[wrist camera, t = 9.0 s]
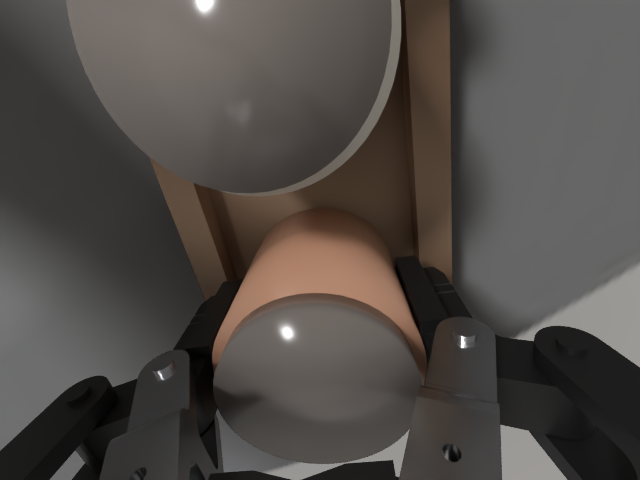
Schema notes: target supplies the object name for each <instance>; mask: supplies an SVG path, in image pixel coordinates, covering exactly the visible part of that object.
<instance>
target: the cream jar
mask: <svg viewBox="0 0 640 480" xmlns="http://www.w3.org/2000/svg"><path fill="white" fill-rule="evenodd" d="M66 3H67V10H68V16H69V23H70V27H71V30H72V34H73V38H74V42H75V46H76V49H77V52H78V54H79V57H80V60H81V62H82V65H83V68H84V70H85V72H86V74H87V77H88V79H89V81H90V83H91V85H92V87H93V89H94V91H95V93H96V94H97V96H98V97H99V99H100V101H101V102H102V104H103V106H104V107H105V109H106V110H107V112H108V113H109V115H110V116H111V117H112V118H113V120H114V121H115V122H116V124H117V125H118V126H119V128H120V129H121V130H122V131H123V132H124V133H125V134H126V135H127V136H128V137H129V139H130V140H131V141H132V142H133V143H134V144H135V145H136V146H137V147H139V148H140V149H141V150H142V151H143V152H144V153H145V154H147V155H148V156H149V157H150V158H151V159H153V160H154V161H156V162H157V163H158V164H160V165H161V166H163V167H164V168H166V169H167V170H169V171H171V172H173V173H174V174H176V175H178V176H180V177H182V178H184V179H186V180H188V181H191V182H193V183H196V184H198V185H201V186H204V187H208V188H211V189H215V190H219V191H222V192H226V193H230V194H237V195H243V196H270V195H279V194H284V193H288V192H292V191H296V190H299V189H301V188H304V187H306V186H309V185H312V184H313V183H315V182H317V181H319V180H321V179H323V178H325V177H326V176H328V175H329V174H331V173H332V172H333V171H335V170H336V169H337V168H339V167H340V166H341V165H343V164H344V163H345V162H346V161H347V160H348V159H349V158H350V157H351V156H352V155H353V154H354V153H355V152H356V151H357V150H358V148H359V147H360V146H361V145H362V144H363V142H364V141H365V140H366V139H367V137H368V136H369V134H370V132H371V131H372V129H373V128H374V126H375V125H376V123H377V121H378V119H379V117H380V115H381V113H382V111H383V109H384V107H385V105H386V103H387V100H388V97H389V94H390V91H391V88H392V85H393V82H394V78H395V74H396V69H397V65H398V60H399V51H400V42H401V6H400V0H66Z"/></svg>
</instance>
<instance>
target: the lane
mask: <svg viewBox="0 0 640 480" xmlns="http://www.w3.org/2000/svg"><path fill="white" fill-rule="evenodd" d="M400 6H401V42H400V51H399V60H398V65H397V69H396V74H395V78H394V82H393V85H392V88H391V91H390V94H389V97H388V100H387V103H386V105H385V107H384V109H383V111H382V113H381V115H380V117H379V119H378V121H377V123H376V125H375V126H374V128H373V129H372V131H371V132H370V134H369V136H368V137H367V139H366V140H365V141H364V142H363V144H362V145H361V146H360V147H359V148H358V150H357V151H356V152H355V153H354V154H353V155H352V156H351V157H350V158H349V159H348V160H347V161H346V162H345V163H344V164H343V165H341V166H340V167H339V168H337V169H336V170H335V171H333V172H332V173H331V174H329V175H328V176H326V177H325V178H323V179H321V180H319V181H317V182H315V183H313V184H312V185H309V186H306V187H304V188H301V189H299V190H296V191H292V192H288V193H284V194H279V195H270V196H243V195H237V194H230V193H226V192H222V191H219V190H215V189H211V188H208V187H204V186H201V185H198V184H196V183H193V182H191V181H188V180H186V179H184V178H182V177H180V176H178V175H176V174H174V173H173V172H171V171H169V170H167V169H166V168H164V167H163V166H161V165H160V164H158V163H157V162H156V161H154V160H153V159H151V158H150V157H149V156H148V157H149V159H150V162H151V164H152V167H153V169H154V172H155V174H156V177H157V179H158V182H159V184H160V187H161V189H162V192H163V195H164V197H165V200H166V202H167V205H168V207H169V210H170V212H171V215H172V217H173V220H174V222H175V225H176V227H177V230H178V233H179V235H180V238H181V240H182V243H183V245H184V248H185V250H186V253H187V255H188V258H189V260H190V263H191V265H192V268H193V271H194V273H195V276H196V278H197V281H198V283H199V286H200V288H201V291H202V293H203V296H204V298H205V301H206V300H208V299H209V298H210V297H211V296H215V295H216V293H217V292H218V290H219V288H220V286H221V285H222V283H223V282H224V281H230V280H238V279H244V278H245V276H246V274H247V272H248V269H249V267H250V265H251V263H252V261H253V259H254V257H255V255H256V253H257V251H258V249H259V247H260V245H261V243H262V241H263V239H264V238H265V236H266V235H267V233H268V232H269V231H270V230H271V229H272V228H273V227H274V226H275V225H276V224H277V223H279V222H280V221H281V220H283V219H284V218H286V217H288V216H290V215H292V214H295V213H297V212H300V211H304V210H308V209H315V208H331V209H337V210H342V211H345V212H349V213H351V214H353V215H356V216H358V217H360V218H361V219H363V220H365V221H366V222H367V223H369V224H370V225H371V226H372V227H373V228H374V229H375V230H376V231H377V232H378V233H379V234H380V236H381V237H382V238H383V240H384V242H385V243H386V245H387V247H388V250H389V253H390V255H391V258H392V261H393V264H394V266H395V258H398V257H405V256H412V255H416V256H417V258H418V260H419V262H420V264H421V266H422V268H426V267H435V268H436V269H438V270H440V271H441V272H443V273H444V274H445V275H446V277H447V279H448V280H449V282H450V284H451V285H452V205H451V94H450V0H400Z"/></svg>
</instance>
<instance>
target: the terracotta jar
mask: <svg viewBox="0 0 640 480" xmlns="http://www.w3.org/2000/svg"><path fill="white" fill-rule="evenodd" d="M212 365H213V371H214V379H213V392H214V398H215V402H216V405H217V407H218V410H219V412H220V413H221V415H222V417H223V419H224V420H225V421H226V423H227V424H228V425H229V426H230V428H231V429H232V430H233V431H234V432H235V433H236V434H238V435H239V436H240V437H241V438H242V439H244V440H245V441H247V442H248V443H250V444H251V445H253V446H254V447H256V448H258V449H260V450H262V451H264V452H267V453H269V454H271V455H274V456H277V457H280V458H284V459H287V460H292V461H296V462H303V463H315V464H331V463H332V464H333V463H342V462H348V461H353V460H358V459H361V458H365V457H368V456H370V455H373V454H375V453H378V452H380V451H382V450H384V449H385V448H387V447H389V446H390V445H392V444H393V443H395V442H396V441H398V440H399V439H400V438H401V437H402V436H403V435H404V434H405V433H406V432H407V431H408V430H409V429H410V426H411V421H412V417H413V412H414V407H415V403H416V398H417V394H418V390H419V387H420V385H423V384H424V381H425V377H426V371H427V359H426V352H425V348H424V345H423V342H422V339H421V337H420V334H419V331H418V328H417V326H416V323H415V320H414V318H413V315H412V312H411V310H410V307H409V304H408V301H407V299H406V296H405V293H404V291H403V288H402V285H401V282H400V280H399V277H398V274H397V272H396V269H395V266H394V264H393V261H392V258H391V255H390V253H389V250H388V247H387V245H386V243H385V242H384V240H383V238H382V237H381V236H380V234H379V233H378V232H377V231H376V230H375V229H374V228H373V227H372V226H371V225H370V224H369V223H367V222H366V221H365V220H363V219H361V218H360V217H358V216H356V215H353V214H351V213H349V212H345V211H342V210H337V209H331V208H315V209H308V210H304V211H300V212H297V213H295V214H292V215H290V216H288V217H286V218H284V219H283V220H281V221H280V222H279V223H277V224H276V225H275V226H274V227H273V228H272V229H271V230H270V231H269V232H268V233H267V235H266V236H265V238H264V239H263V241H262V243H261V245H260V247H259V249H258V251H257V253H256V255H255V257H254V259H253V261H252V263H251V265H250V267H249V269H248V272H247V274H246V276H245V278H244V280H243V282H242V284H241V286H240V288H239V290H238V292H237V294H236V296H235V298H234V301H233V303H232V305H231V307H230V309H229V311H228V313H227V315H226V317H225V319H224V321H223V323H222V325H221V327H220V329H219V332H218V334H217V337H216V339H215V342H214V347H213V352H212Z"/></svg>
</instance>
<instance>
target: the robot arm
mask: <svg viewBox="0 0 640 480" xmlns="http://www.w3.org/2000/svg"><path fill="white" fill-rule="evenodd" d="M395 269H396V272H397V274H398V277H399V280H400V282H401V285H402V288H403V291H404V293H405V296H406V299H407V301H408V304H409V307H410V310H411V312H412V315H413V318H414V320H415V323H416V326H417V328H418V331H419V334H420V337H421V339H422V342H423V345H424V348H425V352H426V359H427V371H426V377H425V381H424V385H420V387H419V390H418V394H417V398H416V403H415V407H414V412H413V417H412V421H411V426H410V431H409V436H408V440H407V445H406V449H405V454H404V458H403V463H402V468H401V473H400V477H396V476H395V470H394V464H393V460H389V461H376V462H362V463H348V464H344V465H341V466H338V467H335V468H333V469H330V470H327V471H324V472H322V473H319V474H316V475H313V476H311V477H308V478H305V479H303V480H502V468H501V467H502V465H501V437H500V436H501V435H500V425H505V426H510V427H515V428H519V429H524V430H529V432H530V433H531V434H532V436H533V437H534V438H535V439H536V441H537V442H538V443H539V444H540V446H541V447H542V448H543V449H544V450H545V452H546V453H547V455H548V456H549V457H550V458H551V459H552V461H553V462H554V463H555V465H556V466H557V467H558V468H559V469H560V471H561V472H562V473H563V475H564V476H565V477H566V478H567V480H640V367H638V366H637V365H635V364H634V363H632V362H631V361H630V360H628V359H627V358H625V357H624V356H622V355H621V354H620V353H618V352H617V351H615V350H614V349H612V348H611V347H610V346H608V345H607V344H606V343H604V342H602V341H601V340H600V339H598V338H597V337H595V336H593V335H591V334H589V333H587V332H585V331H582V330H579V329H576V328H571V327H565V326H551V327H546V328H543V329H541V330H539V331H538V332H537V333H536V335H535V338H534V341H526V340H518V339H510V338H504V337H500V336H497V335H494V332H493V331H492V330H491V328H490V327H489V326H487V325H486V324H484V323H483V322H481V321H479V320H476V319H473V318H472V316H471V315H470V313H469V312H468V310H467V309H466V307H465V305H464V304H463V302H462V301H461V299H460V297H459V296H458V294H457V293H456V292H455V290H454V288H453V286H452V285H451V284H450V282H449V280H448V279H447V277H446V275H445V274H444V273H443V272H441V271H440V270H438V269H436V268H435V267H426V268H422V266H421V264H420V262H419V260H418V258H417V256H416V255H412V256H405V257H398V258H395ZM243 280H244V279H238V280H230V281H224V282H223V283H222V285H221V286H220V288H219V290H218V292H217V293H216V295H215V296H211V297H210V298H209V299H208V300H206V301H205V302H204V303H203V304H202V305H201V306H200V308H199V309H198V311H197V312H196V314H195V317H193V319H192V320H191V322H190V325H188V327H187V328H186V330H185V332H184V333H183V335H182V336H181V338H180V340H179V341H178V343H177V344H176V346H175V348H174V349H173V350H172V351H168V352H165V353H163V354H161V355H159V356H157V357H155V358H154V359H152V360H151V361H150V362H149V363H148V364H146V365H145V367H144V368H143V369H142V370H141V372H140V374H139V376H138V379H135V380H132V381H130V382H127V383H124V384H121V385H118V386H115V387H112V385H111V384H110V382H109V380H108V379H107V378H106V377H104V376H94V377H90V378H87V379H84V380H82V381H80V382H78V383H76V384H75V385H73V386H72V387H70V388H69V389H67V390H66V391H65V392H63V393H62V394H61V395H60V396H59V397H58V398H57V399H56V400H55V401H53V402H52V403H51V404H50V405H49V406H48V407H47V408H46V409H45V410H44V411H43V412H42V413H41V414H40V415H38V416H37V417H36V418H35V419H34V420H33V421H32V422H31V423H30V424H29V425H28V426H27V427H26V428H24V429H23V430H22V431H21V432H20V433H19V434H18V435H17V436H16V437H15V438H14V439H13V440H12V441H11V442H9V443H8V444H7V445H6V446H5V447H4V448H3V449H2V450H1V451H0V480H49V479H50V478H51V477H52V476H53V475H54V474H55V473H56V471H57V470H58V469H59V468H60V467H61V466H62V465H63V463H64V462H65V461H66V460H67V459H68V458H69V457H70V455H71V454H72V453H73V452H74V451H75V450H76V452H77V453H78V454H79V455H80V457H81V458H82V459H83V461H84V462H85V464H84V465H83V466H82V468H81V469H80V470H79V471H78V473H77V474H76V475H75V476H74V478H73V479H72V480H290V479H286V478H282V477H278V476H273V475H269V474H265V473H261V472H257V471H239V472H226V473H224V470H223V459H222V449H221V439H220V428H219V420H218V418H217V415H216V411H217V408H218V407H217V405H216V402H215V398H214V392H213V379H214V371H213V365H212V352H213V347H214V342H215V339H216V337H217V334H218V332H219V329H220V327H221V325H222V323H223V321H224V319H225V317H226V315H227V313H228V311H229V309H230V307H231V305H232V303H233V301H234V298H235V296H236V294H237V292H238V290H239V288H240V286H241V284H242V282H243Z"/></svg>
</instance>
